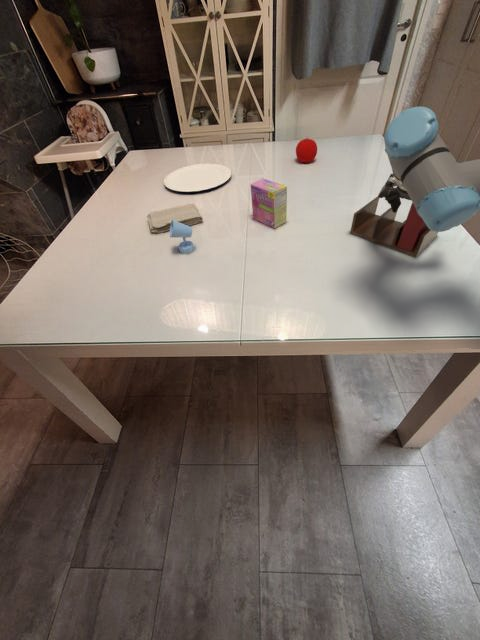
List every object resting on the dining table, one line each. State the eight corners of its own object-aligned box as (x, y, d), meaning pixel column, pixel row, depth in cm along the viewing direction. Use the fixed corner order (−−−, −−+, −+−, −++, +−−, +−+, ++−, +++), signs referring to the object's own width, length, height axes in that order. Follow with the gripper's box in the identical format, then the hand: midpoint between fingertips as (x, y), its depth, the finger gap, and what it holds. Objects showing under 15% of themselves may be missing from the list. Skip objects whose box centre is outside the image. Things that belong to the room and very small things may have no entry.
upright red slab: (429, 234, 85) (452, 180, 74) (411, 251, 80) (433, 196, 69) (415, 229, 87) (435, 176, 76) (396, 246, 82) (415, 192, 71)
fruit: (291, 163, 132) (292, 137, 125) (302, 156, 136) (303, 131, 129) (309, 166, 127) (311, 140, 120) (320, 159, 132) (322, 134, 124)
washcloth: (147, 219, 107) (145, 211, 105) (195, 208, 110) (194, 200, 108) (152, 235, 99) (149, 227, 97) (203, 222, 102) (202, 214, 100)
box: (252, 218, 101) (250, 183, 92) (264, 212, 103) (263, 177, 95) (274, 229, 95) (274, 192, 87) (286, 222, 98) (287, 186, 89)
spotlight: (175, 256, 89) (197, 251, 90) (166, 226, 82) (190, 221, 83) (173, 247, 93) (195, 243, 94) (165, 218, 86) (188, 213, 86)
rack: (436, 236, 85) (445, 215, 80) (415, 257, 79) (424, 236, 75) (372, 216, 96) (377, 196, 91) (349, 233, 90) (354, 213, 85)
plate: (236, 165, 135) (236, 161, 134) (225, 194, 116) (224, 190, 114) (175, 167, 140) (174, 164, 139) (154, 195, 120) (153, 191, 119)
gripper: (350, 178, 67) (370, 214, 84) (474, 210, 53) (467, 245, 71) (368, 145, 65) (384, 189, 82) (500, 169, 52) (486, 215, 69)
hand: (422, 215), depth 77 cm, fingers open, 13 cm apart
